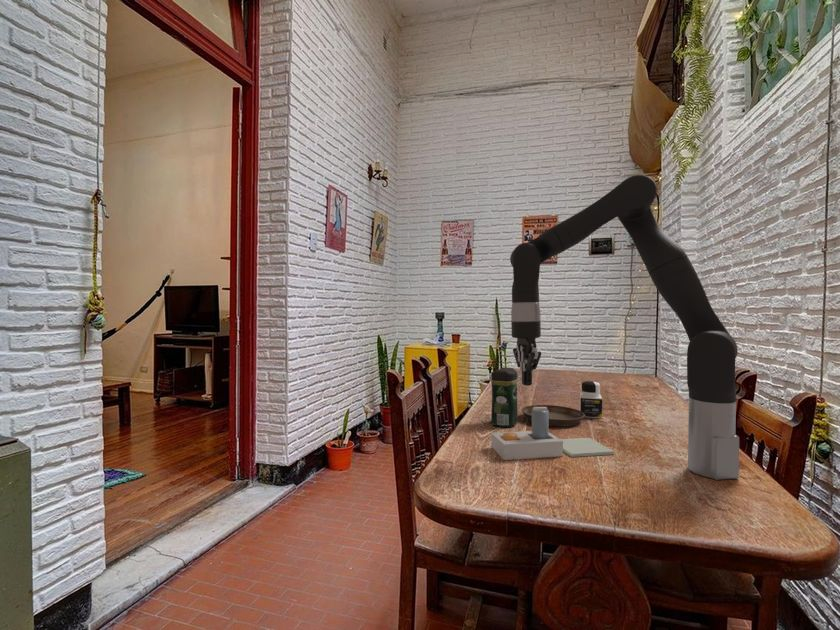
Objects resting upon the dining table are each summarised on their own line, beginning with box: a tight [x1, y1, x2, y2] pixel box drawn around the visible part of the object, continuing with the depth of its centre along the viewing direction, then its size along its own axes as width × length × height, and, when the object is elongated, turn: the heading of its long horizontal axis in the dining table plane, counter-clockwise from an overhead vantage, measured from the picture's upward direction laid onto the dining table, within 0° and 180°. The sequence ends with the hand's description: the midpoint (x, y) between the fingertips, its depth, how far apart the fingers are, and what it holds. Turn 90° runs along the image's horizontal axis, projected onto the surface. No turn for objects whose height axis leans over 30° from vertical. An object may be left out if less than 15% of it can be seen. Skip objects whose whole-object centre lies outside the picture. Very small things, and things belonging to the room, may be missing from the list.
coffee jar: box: [490, 366, 519, 428], centre depth 145 cm, size 10×8×19 cm
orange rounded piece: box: [503, 433, 517, 441], centre depth 117 cm, size 4×4×3 cm
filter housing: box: [490, 430, 564, 461], centre depth 118 cm, size 16×10×4 cm, turn 100°
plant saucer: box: [520, 404, 585, 427], centre depth 150 cm, size 21×21×3 cm
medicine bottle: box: [578, 380, 604, 419], centre depth 155 cm, size 7×7×12 cm
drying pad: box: [559, 437, 615, 458], centre depth 120 cm, size 12×12×1 cm
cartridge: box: [531, 407, 550, 440], centre depth 118 cm, size 4×4×12 cm
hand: (526, 384), depth 116 cm, fingers closed
